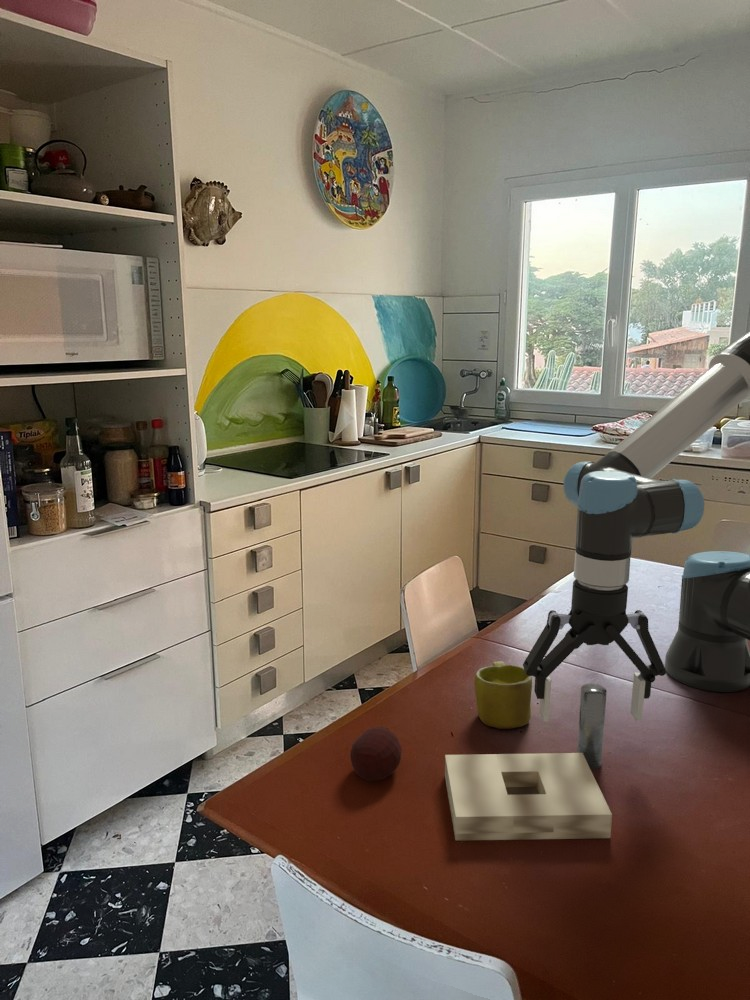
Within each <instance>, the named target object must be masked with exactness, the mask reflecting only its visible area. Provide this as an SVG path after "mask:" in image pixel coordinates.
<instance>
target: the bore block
mask: <svg viewBox="0 0 750 1000" xmlns="http://www.w3.org/2000/svg"><path fill="white" fill-rule="evenodd" d="M444 779H445V785H446V791H447V798H448V803H449V810H450V815H451V822H452V827H453V832H454V833H453V835H454V839H455V841H457V842H458V841H501V840H502V841H507V840H508V841H513V840H515V841H516V840H519V841H522V840H565V839H566V840H568V839H569V840H570V839H571V840H575V839H577V840H578V839H579V840H580V839H611V835H612V834H611V833H612V824H613V823H612V819H613V813H612V812H611V810H610V807H609V804H608V803H607V801H606V799H605V797H604V794H603V792H602V791H601V789H600V787H599V784H598V783H597V780H596V779H595V776H594V774H593V772H592V769H590V768H589V765H588V763H587V761H586V759H585V757H584V755H583V753H577V752H553V753H550V752H549V753H547V752H546V753H545V752H544V753H541V752H540V753H538V752H537V753H498V754H497V753H494V754H493V753H492V754H491V753H489V754H488V753H486V754H477V753H476V754H474V753H473V754H444Z"/></svg>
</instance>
